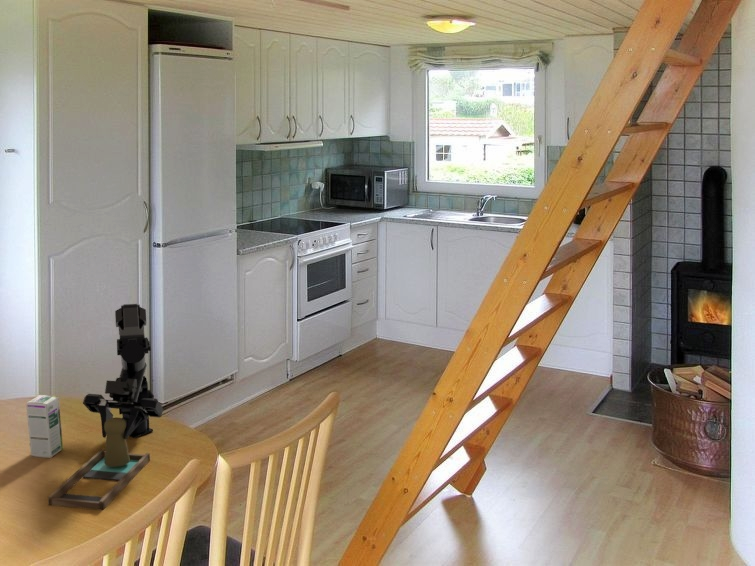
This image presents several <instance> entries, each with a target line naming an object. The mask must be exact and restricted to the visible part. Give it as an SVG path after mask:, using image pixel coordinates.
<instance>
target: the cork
mask: <svg viewBox="0 0 755 566" xmlns="http://www.w3.org/2000/svg"><path fill="white" fill-rule="evenodd" d="M122 418H123V417H113V418H110V419H108V420H107V421H106V422H105V424H104V429H105V432H106V433H107V435H106V437H105V438H106V440H105V450H104V452H105V461H104V463H105V465H107V466H110V467H118V466H123V465H126V464H127V463H129V462H130V458H129V454H130V452H129V448H128V444H127V439H124V431H125V429H126V422H125V420H124V419H122Z"/></svg>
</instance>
